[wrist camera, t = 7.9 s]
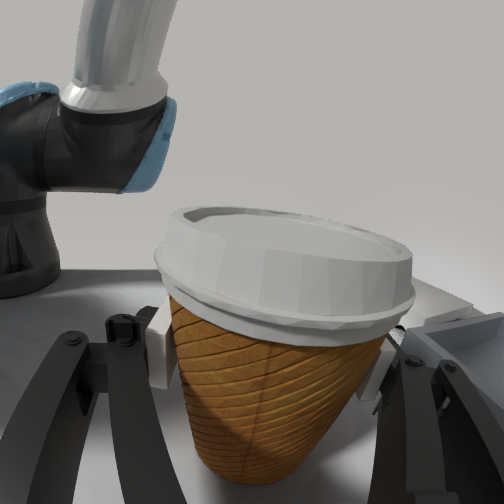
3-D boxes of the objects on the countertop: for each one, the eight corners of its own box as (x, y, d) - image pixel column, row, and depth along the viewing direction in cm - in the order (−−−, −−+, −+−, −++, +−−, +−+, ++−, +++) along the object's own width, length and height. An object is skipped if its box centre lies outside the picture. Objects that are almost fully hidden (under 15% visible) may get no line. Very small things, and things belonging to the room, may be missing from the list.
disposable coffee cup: (237, 370, 19) (260, 204, 16) (355, 428, 14) (427, 244, 11) (130, 433, 12) (105, 206, 9) (273, 542, 6) (423, 308, 3)
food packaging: (318, 284, 43) (415, 346, 25) (322, 263, 42) (425, 318, 24) (380, 282, 48) (465, 325, 30) (384, 265, 48) (473, 304, 30)
